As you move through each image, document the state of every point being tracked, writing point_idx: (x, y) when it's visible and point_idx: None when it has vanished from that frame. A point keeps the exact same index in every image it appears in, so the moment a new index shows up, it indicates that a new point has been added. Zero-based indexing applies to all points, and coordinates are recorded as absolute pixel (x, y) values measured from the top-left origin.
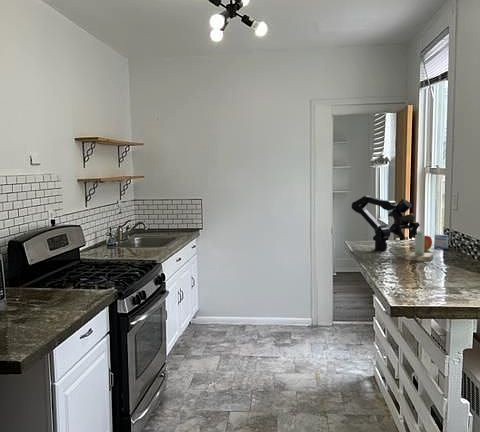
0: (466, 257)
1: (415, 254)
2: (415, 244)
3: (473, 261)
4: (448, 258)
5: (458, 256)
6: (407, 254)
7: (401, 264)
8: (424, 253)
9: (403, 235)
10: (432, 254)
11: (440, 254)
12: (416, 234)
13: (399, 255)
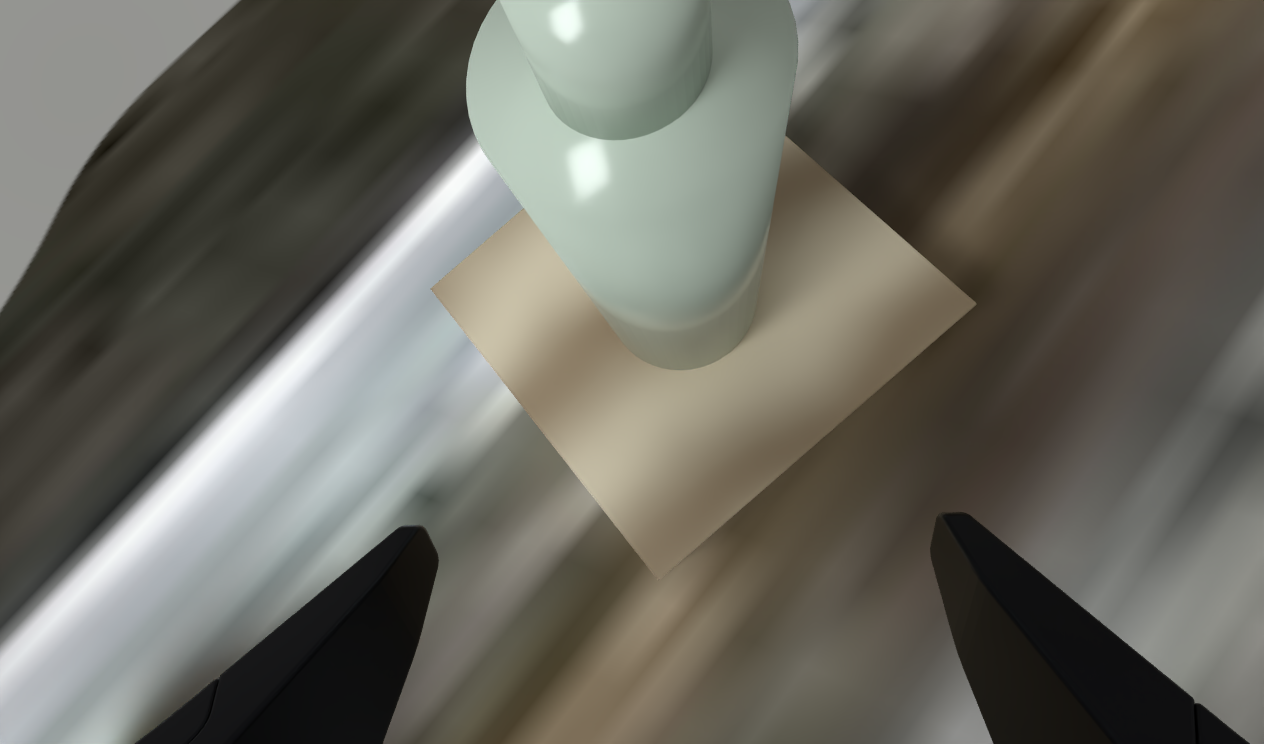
0: (117, 208)
1: (765, 292)
2: (766, 240)
3: (247, 11)
4: (333, 214)
5: (135, 284)
6: (906, 335)
7: (1250, 25)
8: (560, 324)
9: (1042, 603)
10: (509, 221)
11: (198, 475)
12: (644, 211)
13: (823, 663)
